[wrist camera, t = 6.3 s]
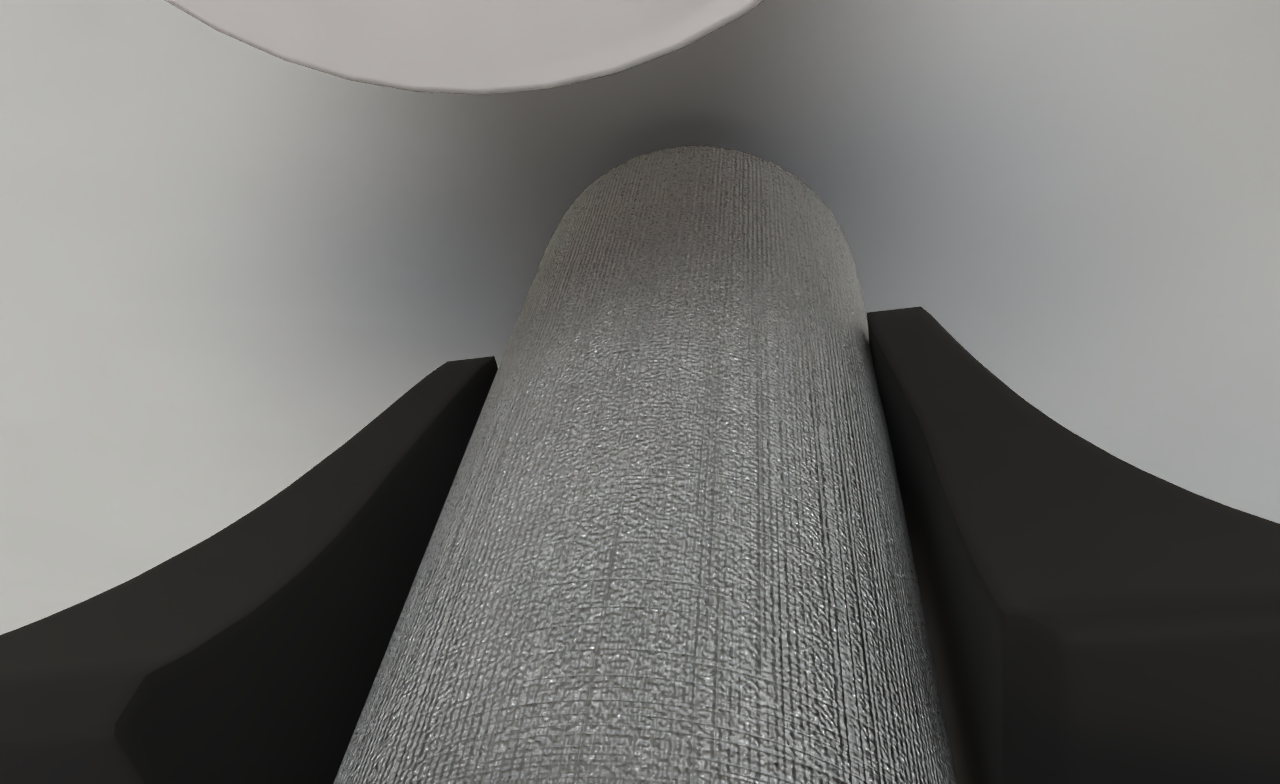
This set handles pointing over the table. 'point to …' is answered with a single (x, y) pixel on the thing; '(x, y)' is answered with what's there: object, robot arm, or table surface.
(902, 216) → the table surface
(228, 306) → the table surface
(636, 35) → the tall can
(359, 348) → the table surface
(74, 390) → the table surface
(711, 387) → the planter
